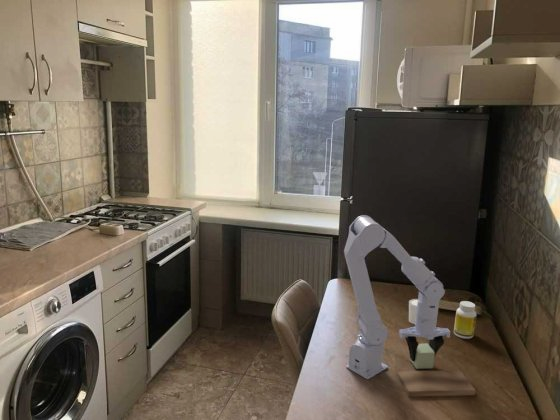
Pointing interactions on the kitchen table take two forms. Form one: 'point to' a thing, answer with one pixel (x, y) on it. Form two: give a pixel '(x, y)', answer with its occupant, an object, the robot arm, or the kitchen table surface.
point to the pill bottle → (465, 320)
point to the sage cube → (424, 357)
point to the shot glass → (412, 310)
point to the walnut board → (435, 383)
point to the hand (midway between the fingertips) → (421, 359)
